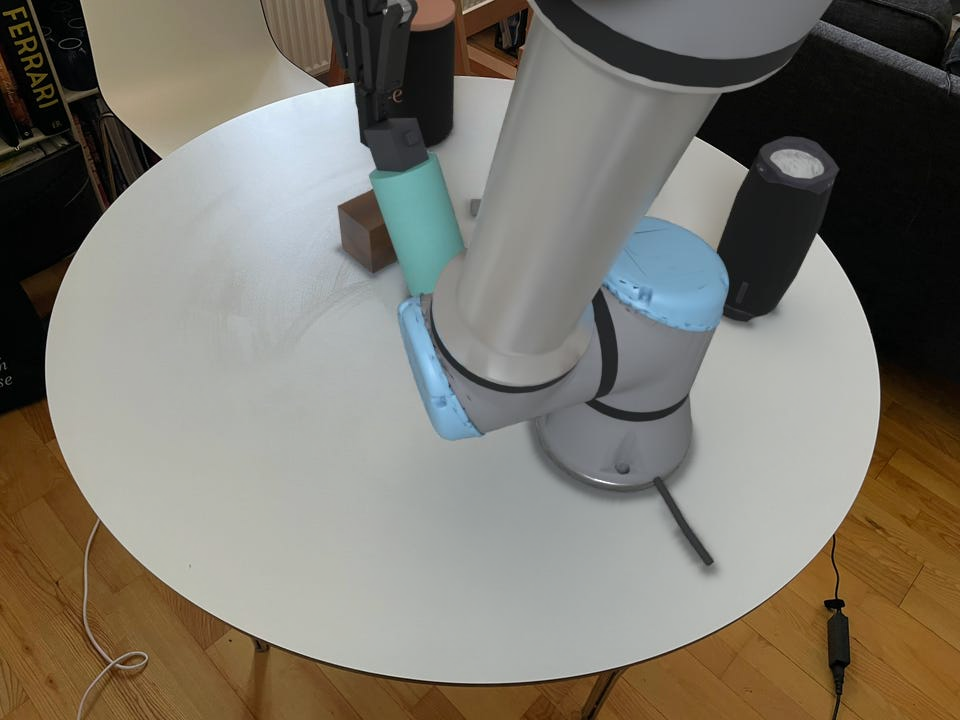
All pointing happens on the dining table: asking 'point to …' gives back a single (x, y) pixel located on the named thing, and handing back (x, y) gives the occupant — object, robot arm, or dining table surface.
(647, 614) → the dining table surface
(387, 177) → the spray bottle
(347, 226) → the block
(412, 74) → the coffee jar
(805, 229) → the portable speaker
